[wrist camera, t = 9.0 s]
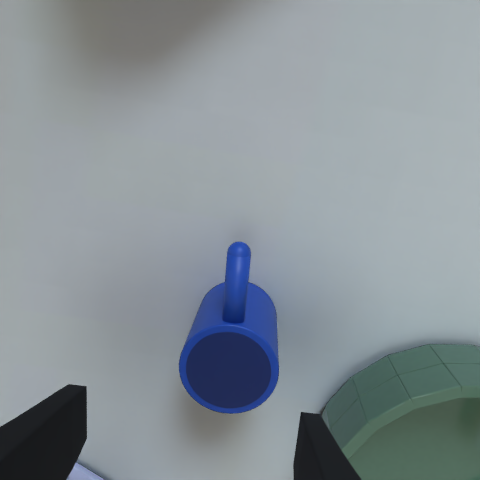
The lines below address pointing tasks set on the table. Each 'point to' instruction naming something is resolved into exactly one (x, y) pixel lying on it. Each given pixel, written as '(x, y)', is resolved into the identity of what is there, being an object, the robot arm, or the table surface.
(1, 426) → the robot arm
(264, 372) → the scoop
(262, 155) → the table surface
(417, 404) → the green plant saucer
